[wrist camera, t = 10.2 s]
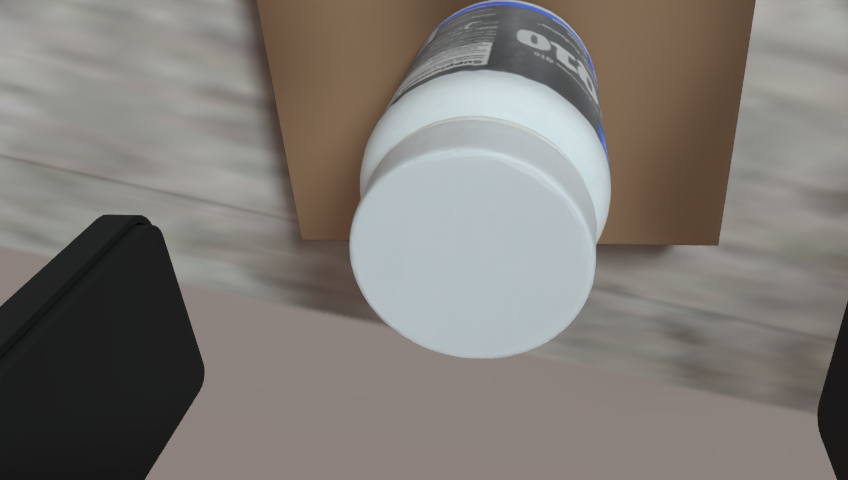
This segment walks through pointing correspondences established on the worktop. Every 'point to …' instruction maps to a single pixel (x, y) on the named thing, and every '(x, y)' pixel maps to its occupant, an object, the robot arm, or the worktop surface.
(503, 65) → the pill bottle
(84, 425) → the robot arm
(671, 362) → the worktop surface
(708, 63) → the walnut block
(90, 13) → the worktop surface
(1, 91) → the worktop surface
